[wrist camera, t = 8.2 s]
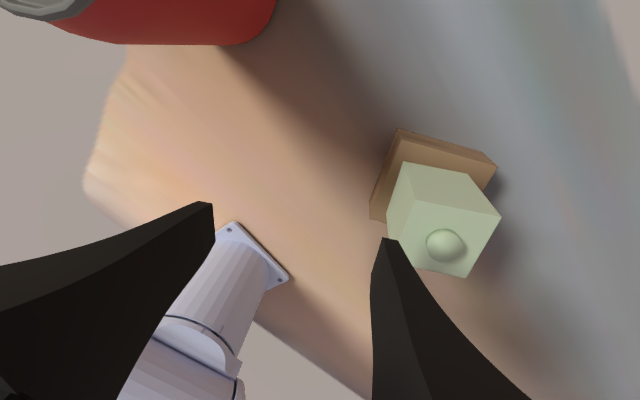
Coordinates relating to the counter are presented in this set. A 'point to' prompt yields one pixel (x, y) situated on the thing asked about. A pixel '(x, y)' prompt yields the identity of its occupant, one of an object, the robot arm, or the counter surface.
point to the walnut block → (427, 154)
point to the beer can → (152, 19)
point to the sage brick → (440, 219)
